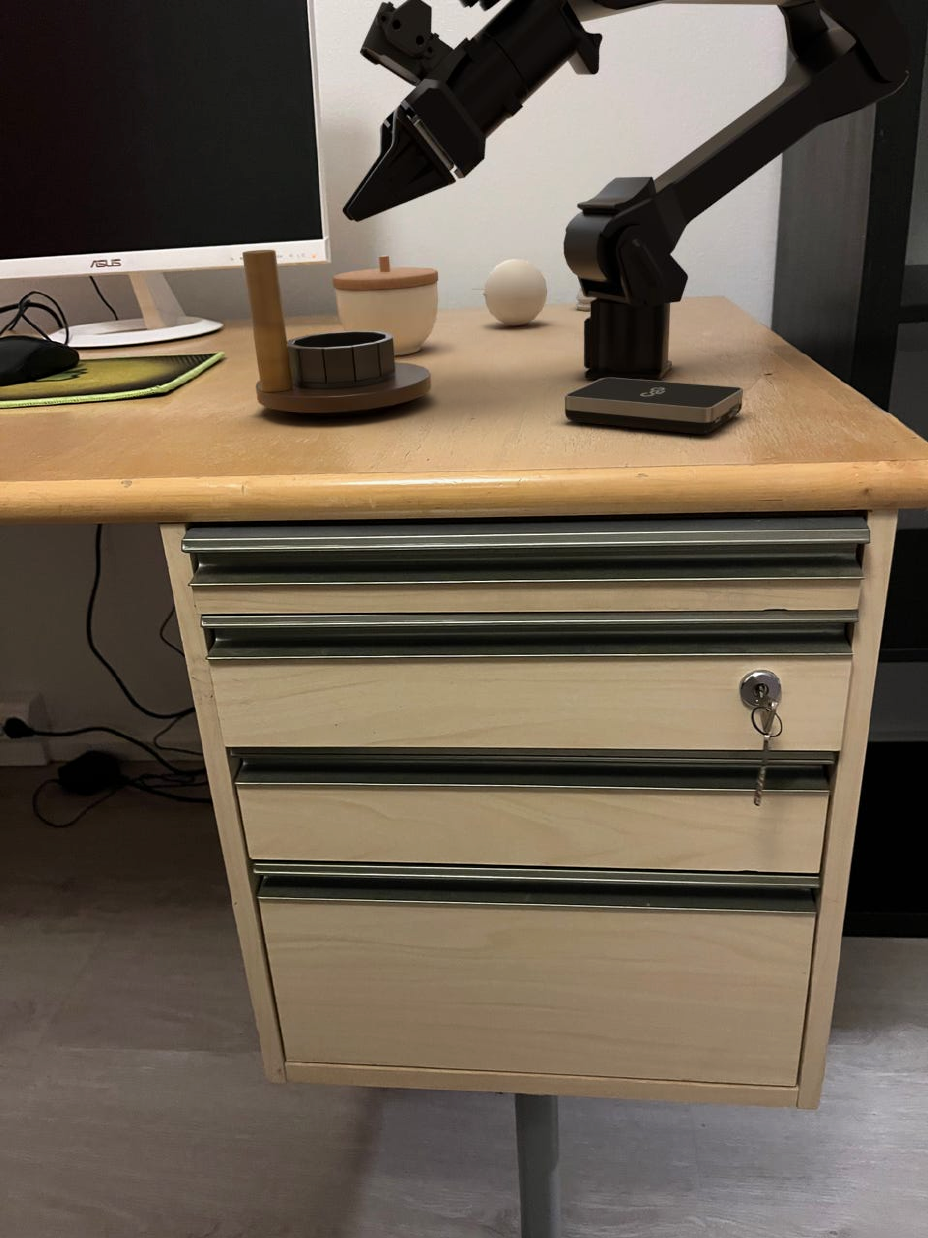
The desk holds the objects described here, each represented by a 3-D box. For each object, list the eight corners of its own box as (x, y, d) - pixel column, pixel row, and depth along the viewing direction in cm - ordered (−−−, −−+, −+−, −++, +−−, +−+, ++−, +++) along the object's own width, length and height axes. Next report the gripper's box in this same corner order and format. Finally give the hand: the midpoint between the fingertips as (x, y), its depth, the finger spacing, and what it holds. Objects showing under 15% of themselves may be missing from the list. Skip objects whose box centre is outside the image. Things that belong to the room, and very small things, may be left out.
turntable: (377, 368, 86) (366, 234, 81) (465, 391, 75) (457, 238, 70) (230, 393, 79) (208, 249, 74) (304, 422, 68) (283, 256, 64)
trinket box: (429, 359, 94) (422, 258, 90) (326, 361, 96) (315, 262, 92) (452, 341, 104) (447, 249, 100) (358, 342, 106) (349, 252, 102)
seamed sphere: (561, 323, 111) (560, 256, 108) (515, 332, 107) (514, 262, 104) (502, 317, 118) (500, 254, 115) (457, 325, 114) (454, 260, 111)
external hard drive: (708, 439, 63) (710, 408, 62) (560, 423, 69) (559, 395, 68) (743, 415, 68) (745, 387, 67) (602, 403, 74) (603, 376, 73)
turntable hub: (411, 395, 80) (410, 383, 79) (369, 419, 73) (368, 406, 72) (326, 393, 82) (325, 381, 82) (278, 415, 76) (276, 402, 75)
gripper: (416, -8, 76) (275, 134, 78) (449, -70, 59) (267, 113, 61) (504, 113, 80) (368, 244, 82) (559, 88, 63) (385, 254, 65)
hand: (348, 216), depth 73 cm, fingers open, 9 cm apart
